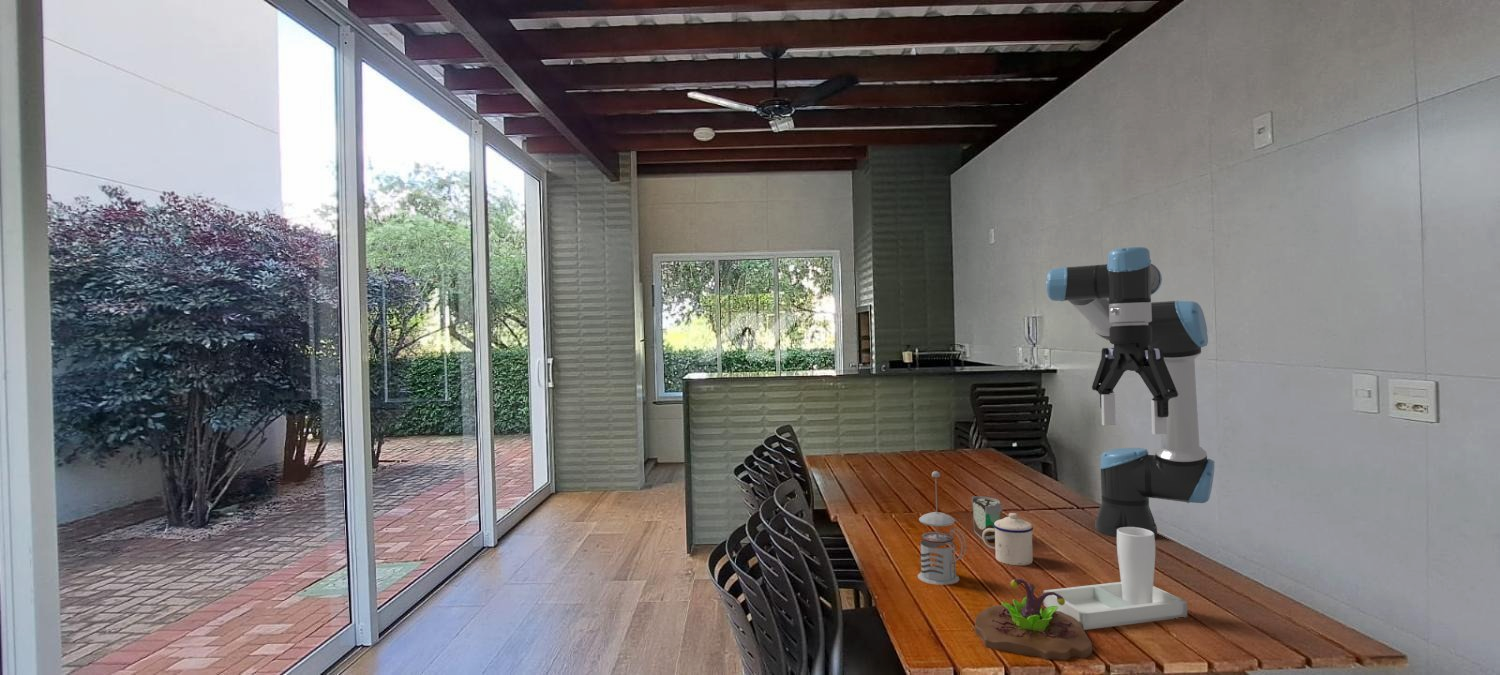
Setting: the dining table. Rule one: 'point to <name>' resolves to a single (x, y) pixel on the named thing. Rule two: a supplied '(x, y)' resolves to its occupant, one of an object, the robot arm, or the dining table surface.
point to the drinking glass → (1136, 564)
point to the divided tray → (1114, 606)
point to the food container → (985, 515)
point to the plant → (1032, 628)
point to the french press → (946, 570)
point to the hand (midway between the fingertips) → (1132, 429)
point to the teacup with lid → (1012, 540)
